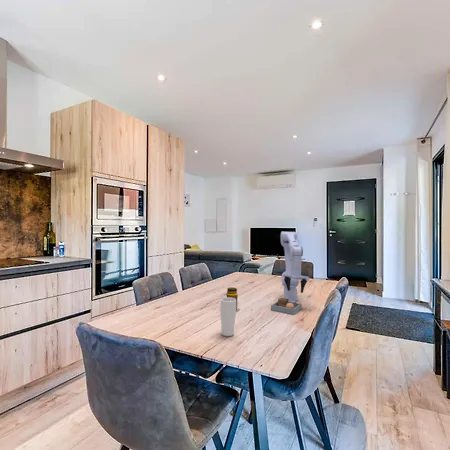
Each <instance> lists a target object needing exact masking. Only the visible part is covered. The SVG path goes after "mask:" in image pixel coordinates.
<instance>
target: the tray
mask: <svg viewBox="0 0 450 450" xmlns="http://www.w3.org/2000/svg"><path fill="white" fill-rule="evenodd" d="M288 303H292V304H293V305H294V309H291V308H286V307H281V306H278V300H277V301H276V302H274V303H272V304H270V311H272V312H277V313H282V314H287V315H291V316H295V315H296V314H298V312H300V311H301V310H302V309H303V308H302V303H298V302H289V301H288Z"/></svg>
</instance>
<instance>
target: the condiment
mask: <svg viewBox="0 0 450 450" xmlns="http://www.w3.org/2000/svg"><path fill="white" fill-rule="evenodd" d="M238 296H239V295H238V289H237V288H236V287H228V288H227V292H226V297H230V298H235V299H236V312H238V311H239V310H240V308H238ZM226 297H225V298H226Z"/></svg>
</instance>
